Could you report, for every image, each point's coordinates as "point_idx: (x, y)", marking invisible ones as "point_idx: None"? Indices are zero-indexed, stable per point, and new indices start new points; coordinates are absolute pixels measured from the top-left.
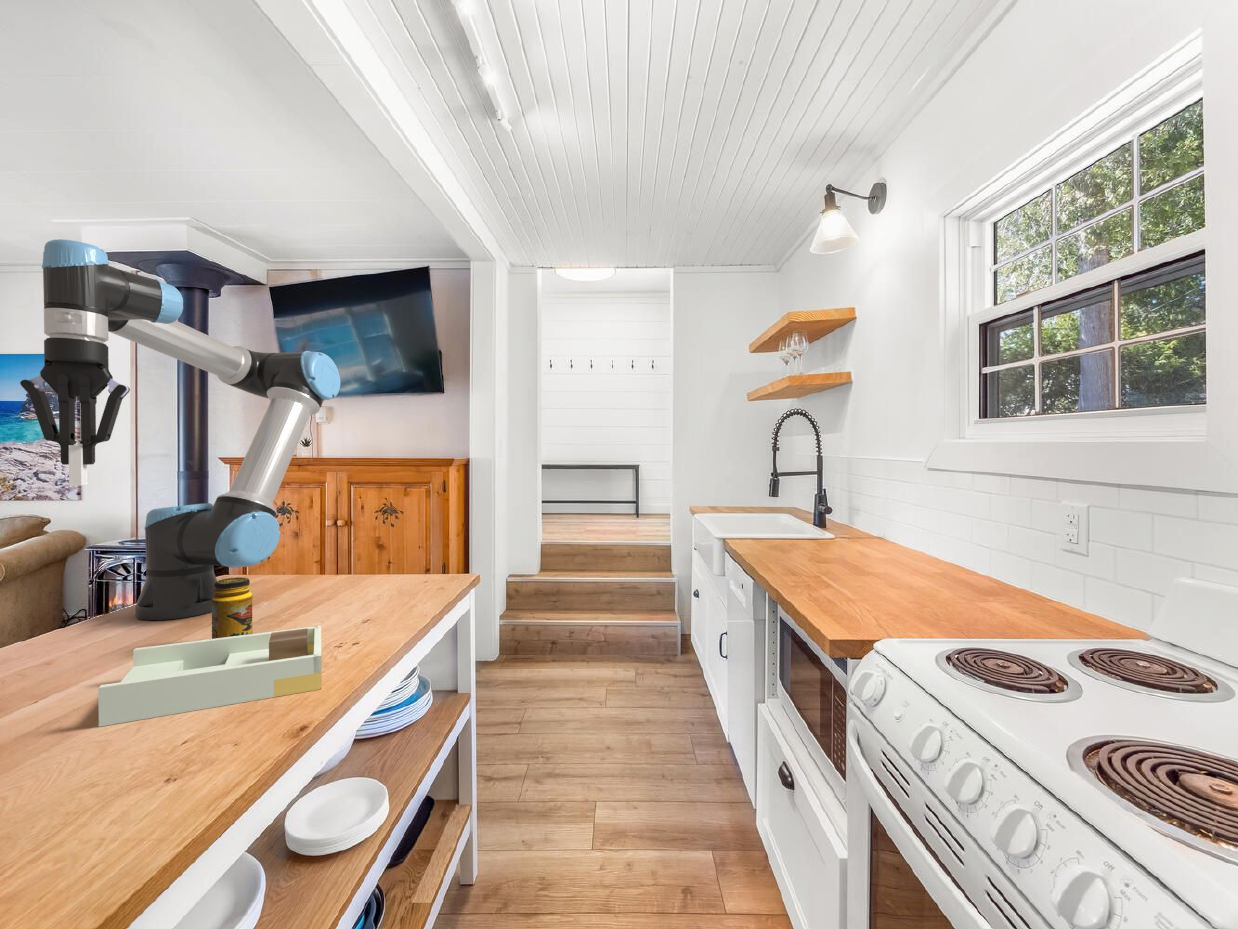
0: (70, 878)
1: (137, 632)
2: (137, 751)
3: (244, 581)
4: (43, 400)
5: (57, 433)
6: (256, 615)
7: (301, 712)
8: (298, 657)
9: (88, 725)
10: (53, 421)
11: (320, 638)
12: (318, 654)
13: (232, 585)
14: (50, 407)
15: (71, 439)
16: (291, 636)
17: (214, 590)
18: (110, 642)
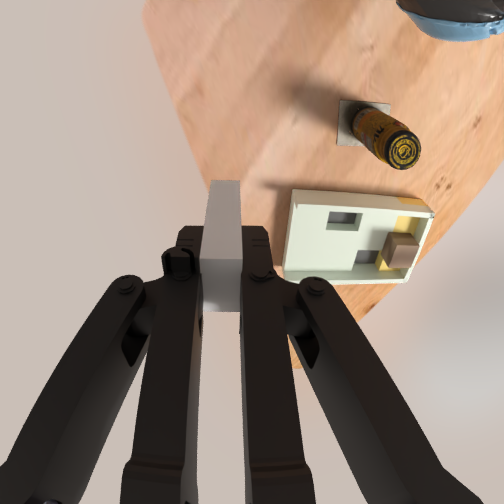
0: (291, 358)
1: (265, 3)
2: None
3: (414, 164)
4: (85, 468)
5: (136, 309)
6: (395, 9)
7: (377, 290)
8: (395, 280)
9: (275, 261)
10: (115, 363)
11: (421, 247)
12: (406, 279)
13: (400, 169)
14: (72, 418)
15: (199, 307)
16: (404, 261)
17: (381, 149)
18: (242, 33)
